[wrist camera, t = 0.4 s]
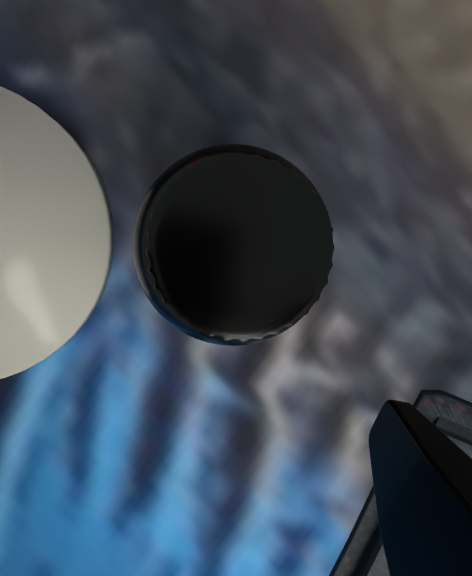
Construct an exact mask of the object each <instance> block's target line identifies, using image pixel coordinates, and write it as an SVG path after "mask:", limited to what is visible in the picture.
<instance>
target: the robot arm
mask: <svg viewBox="0 0 472 576" xmlns="http://www.w3.org/2000/svg"><path fill="white" fill-rule="evenodd" d="M369 449H370V458H371V466H372V475H373V483H374V491H375V500H376V508H377V515H378V522H379V528H380V533H381V538H382V543H383V547H384V552H385V556H386V560H387V565H388V569H389V574H390V576H472V458H471V457H469V456H468V455H467V454H466V453H465V452H464V451H463V450H462V449H461V448H459V447H458V446H457V445H456V444H455V443H454V442H453V441H452V440H451V439H449V438H448V437H447V436H446V435H445V434H444V433H443V432H442V431H441V430H439V429H438V428H437V427H436V426H435V425H434V424H433V423H432V422H431V421H429V420H428V419H427V418H426V417H425V416H424V415H423V414H422V413H421V412H419V411H418V410H417V409H416V408H415V407H414V406H413V405H412V404H410V403H407V402H402V401H396V400H387V401H386V402H385V403H384V404H383V406H382V408H381V410H380V412H379V414H378V416H377V418H376V420H375V422H374V424H373V426H372V428H371V430H370V434H369Z"/></svg>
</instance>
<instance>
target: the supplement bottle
mask: <svg viewBox="0 0 472 576" xmlns="http://www.w3.org/2000/svg"><path fill="white" fill-rule="evenodd" d="M332 232H333V228H332V226H331V223H330V219H329V215H328V211H327V209H326V207H325V204H324V202H323V200H322V198H321V196H320V195H319V193H318V191H317V189H316V188H315V187H314V185H313V184H312V183H311V181H310V180H309V179H308V178H307V177H306V176H305V175H304V174H303V173H302V172H301V171H300V170H299V169H298V168H297V167H296V166H294V165H293V164H292V163H290V162H289V161H287V160H286V159H284V158H282V157H281V156H279V155H277V154H275V153H272V152H270V151H267V150H265V149H262V148H258V147H254V146H248V145H239V144H227V145H218V146H212V147H208V148H204V149H201V150H198V151H196V152H193V153H191V154H189V155H187V156H185V157H183V158H182V159H180V160H178V161H177V162H175V163H174V164H173V165H171V166H170V167H169V168H168V169H167V170H165V171H164V172H163V173H162V174H161V175H160V176H159V178H158V179H157V180H156V181H155V182H154V183H153V185H152V186H151V188H150V189H149V191H148V192H147V194H146V196H145V198H144V200H143V202H142V204H141V206H140V209H139V211H138V215H137V218H136V222H135V227H134V233H133V257H134V263H135V268H136V272H137V275H138V279H139V281H140V284H141V286H142V288H143V290H144V292H145V294H146V296H147V298H148V299H149V301H150V302H151V304H152V305H153V306H154V307H155V309H156V310H157V311H158V312H159V313H160V314H161V315H162V316H163V317H164V318H165V319H166V320H167V321H168V322H169V323H170V324H172V325H173V326H174V327H176V328H177V329H179V330H180V331H182V332H184V333H185V334H187V335H189V336H191V337H194V338H196V339H198V340H202V341H205V342H208V343H213V344H218V345H229V346H238V345H248V344H253V343H258V342H261V341H265V340H267V339H270V338H272V337H275V336H277V335H279V334H281V333H282V332H284V331H286V330H287V329H289V328H290V327H292V326H293V325H294V324H295V323H297V322H298V321H299V320H300V319H301V318H302V317H303V316H304V315H306V314H308V312H309V310H310V309H311V307H312V306H313V305H314V303H315V302H316V301H318V300H319V297H320V294H321V292H322V290H323V288H324V287H325V286H326V284H327V282H328V275H329V271H330V270H331V268H332V266H333V264H332V255H333V250H334V244H333V235H332Z"/></svg>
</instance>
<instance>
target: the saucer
mask: <svg viewBox="0 0 472 576" xmlns="http://www.w3.org/2000/svg"><path fill="white" fill-rule="evenodd" d="M113 234H114V231H113V223H112V215H111V210H110V206H109V202H108V198H107V194H106V192H105V189H104V187H103V184H102V182H101V179H100V177H99V175H98V173H97V171H96V169H95V167H94V166H93V164H92V162H91V160H90V159H89V157H88V156H87V154H86V153H85V152H84V150H83V149H82V148H81V146H80V145H79V144H78V142H77V141H76V140H75V139H74V138H73V137H72V136H71V135H70V134H69V133H68V132H67V131H66V130H65V129H64V127H62V126H61V125H60V124H59V123H57V122H56V121H55V120H54V119H53V118H51V117H50V116H49V115H48V114H46V113H45V112H44V111H43V110H41V109H40V108H39V107H38V106H36V105H34V104H33V103H31V102H30V101H28V100H27V99H25V98H23V97H22V96H20V95H18V94H16V93H14V92H12V91H10V90H8V89H5V88H3V87H1V86H0V379H2V378H6V377H8V376H11V375H14V374H16V373H19V372H22V371H24V370H26V369H28V368H30V367H31V366H33V365H35V364H37V363H39V362H41V361H42V360H44V359H45V358H47V357H49V356H50V355H51V354H53V353H54V352H56V351H57V350H58V349H60V348H61V347H63V346H64V345H65V344H66V343H67V342H68V341H69V340H70V339H72V338H73V337H74V336H75V335H76V334H77V333H78V332H79V330H80V329H81V328H82V327H83V325H84V324H85V323H86V322H87V321H88V319H89V318H90V316H91V315H92V313H93V311H94V310H95V308H96V306H97V305H98V303H99V301H100V299H101V296H102V294H103V292H104V289H105V287H106V284H107V280H108V277H109V273H110V269H111V264H112V256H113Z"/></svg>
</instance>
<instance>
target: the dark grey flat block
mask: <svg viewBox="0 0 472 576" xmlns="http://www.w3.org/2000/svg"><path fill="white" fill-rule="evenodd" d="M413 406H414V407H415V408H416V409H417V410H418V411H419V412H421V413H422V414H423V415H424V416H425V417H426V418H427V419H428V420H429V421H431V422H432V423H433V424H434V425H435V426H436V427H437V428H438V429H439V430H441V431H442V432H443V433H444V434H445V435H446V436H447V437H448V438H449V439H451V440H452V441H453V442H454V443H455V444H456V445H457V446H458V447H459V448H461V449H462V450H463V451H464V452H465V453H466V454H467V455H468V456H469V457H471V458H472V403H470V402H467V401H465V400H463V399H460V398H458V397H455V396H453V395H451V394H448V393H446V392H443V391H421V392H420V394H419V396H418V398H417V400H416V402H415V403H414V405H413ZM330 576H390V574H389V569H388V565H387V560H386V556H385V552H384V547H383V543H382V538H381V533H380V528H379V522H378V515H377V508H376V500H375V491H374V486H373V488H372V490H371V492H370V494H369V497H368V499H367V501H366V503H365V505H364V507H363V509H362V511H361V513H360V515H359V518H358V520H357V522H356V524H355V526H354V528H353V530H352V532H351V534H350V537H349V539H348V540H347V542H346V544H345V546H344V548H343V550H342V552H341V554H340V556H339V558H338V560H337V562H336V564H335V566H334V568H333V570H332V572H331V574H330Z"/></svg>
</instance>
